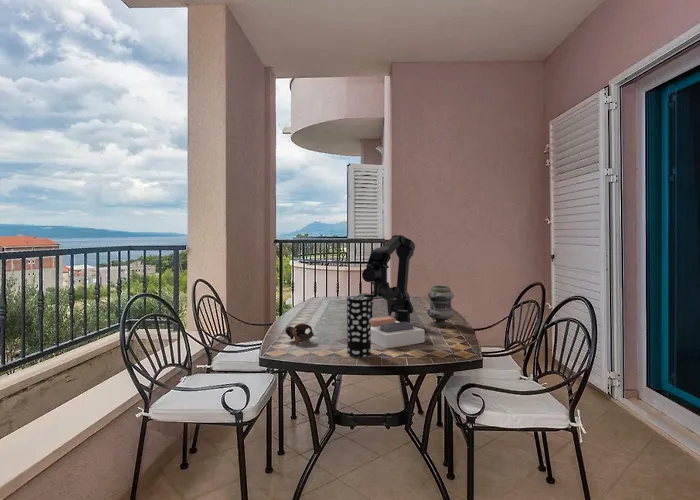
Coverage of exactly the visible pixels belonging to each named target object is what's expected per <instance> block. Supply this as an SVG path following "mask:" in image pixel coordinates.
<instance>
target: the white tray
mask: <svg viewBox="0 0 700 500" xmlns="http://www.w3.org/2000/svg"><path fill="white" fill-rule="evenodd" d="M398 322H399V321H396V323H398ZM374 343H375V344H374ZM422 343H425V329H423V328H420V327H417V326H414V325H413V329H410V330H402V331H395V332H388V333H387V332H384V331H381V330H380V325H379V326H371V344H374V345H377V346H379V347H382V348H384V349H391V348H392V349H393V348H398V347H403V346H404V347H405V346H410V345H415V344H422Z"/></svg>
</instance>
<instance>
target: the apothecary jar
mask: <svg viewBox="0 0 700 500" xmlns="http://www.w3.org/2000/svg"><path fill="white" fill-rule="evenodd" d="M427 296H428V299H430V307H429V309H427V316H429V318H431V319H432V320H433V321H432V322H430V323H429V325H430V326H432V327H436V328H449V327H452V324H451V323H450V322H448V321H447V320H450V319H451V318H453V317H454V315H455V311H454V310H453V309H452V300H453V298H454V297H455V293H454V292H453V291H452V289H451V286H449V285H443V284H441V285H433V286H431V289H430V290H429V291H428V292H427Z"/></svg>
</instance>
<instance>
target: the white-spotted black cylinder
mask: <svg viewBox="0 0 700 500" xmlns="http://www.w3.org/2000/svg"><path fill="white" fill-rule="evenodd" d="M346 304H347V305H346V314H347V315H346V316H347V317H346V321H347V322H346V324H347V325H346V327H347V329H346V331H347V333H346V334H347V335H346V337H347V339H346V342H347V344H346V345H347V346H346V347H347V355H348V356H349V357H354V358H365V357H369V356H371V354H372V353H371V352H372V350H371V349H372V347H371V344H372V342H371V300H370V297H364V296H356V295H355V296H354V295H353V296H349V297H347V298H346Z"/></svg>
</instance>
